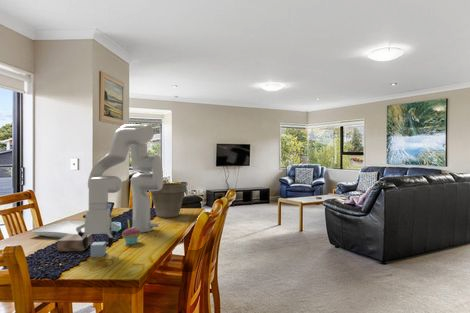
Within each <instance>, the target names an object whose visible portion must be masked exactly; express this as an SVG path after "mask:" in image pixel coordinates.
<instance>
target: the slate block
mask: <svg viewBox="0 0 470 313" xmlns="http://www.w3.org/2000/svg"><path fill="white" fill-rule="evenodd" d="M106 254H107V242H106V241H92V244H91V245H90V258H103V257H105V255H106Z"/></svg>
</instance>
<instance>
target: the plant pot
mask: <svg viewBox="0 0 470 313" xmlns="http://www.w3.org/2000/svg"><path fill="white" fill-rule="evenodd" d="M186 191H187V183H181V182H163V187H162V189H161V190H159V191H149V192H150V195H151V198H152V203H153V205H154V211H155V214H156V216H157V217H158V218H166V219H167V218H175V217H179V216H180V211H181V209H182V208H181V207H182V204H183V202H184V201H183V200H184V197H185V193H186Z"/></svg>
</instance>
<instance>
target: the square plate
mask: <svg viewBox="0 0 470 313" xmlns="http://www.w3.org/2000/svg"><path fill="white" fill-rule="evenodd" d="M83 224H85V220H66V221H62V222H58V223H54V224H50V225H47V226H43V227H41V228H37V229H33V230H31V233H33V234H34V235H37V236H42V237H43V236H44V237H47V238H59V239H61V238H62V237H64V236H66V235H67V234H78V232H77V231H76V228H77V227H79V226H81V225H83ZM84 228H85V227H84ZM84 228H82V229H81V231H82V232H83V233H84V234H85V230H84Z"/></svg>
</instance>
